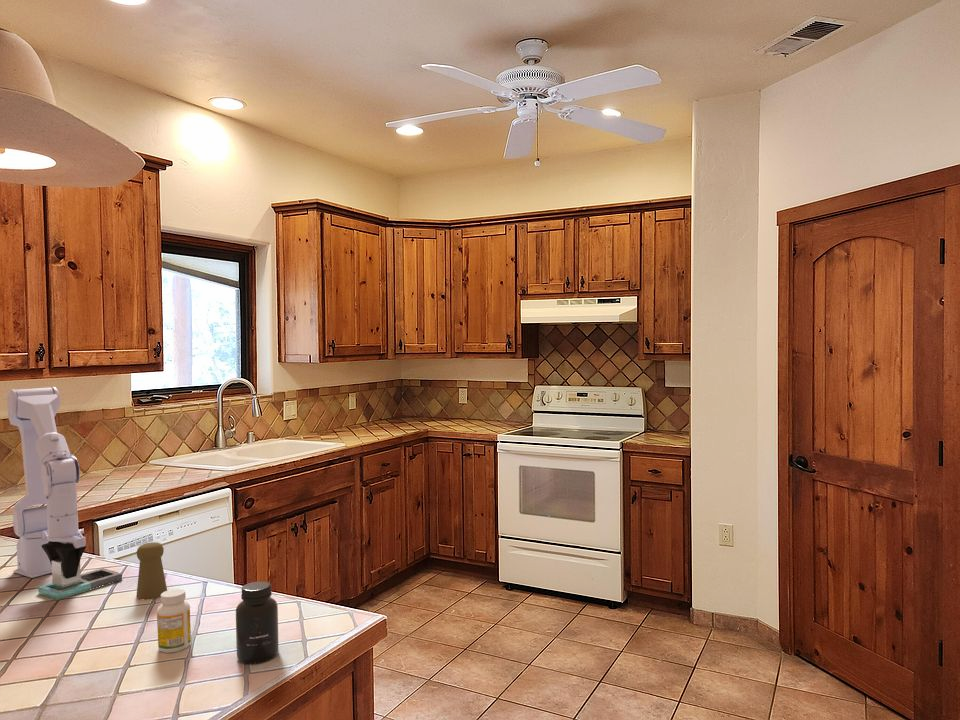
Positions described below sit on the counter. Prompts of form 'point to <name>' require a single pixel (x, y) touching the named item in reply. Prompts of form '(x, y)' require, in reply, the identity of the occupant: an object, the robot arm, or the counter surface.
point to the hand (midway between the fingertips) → (65, 575)
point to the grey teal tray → (82, 584)
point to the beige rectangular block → (59, 578)
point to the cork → (150, 571)
